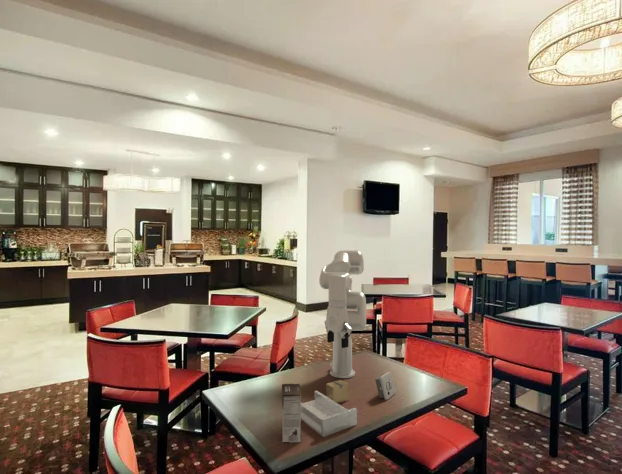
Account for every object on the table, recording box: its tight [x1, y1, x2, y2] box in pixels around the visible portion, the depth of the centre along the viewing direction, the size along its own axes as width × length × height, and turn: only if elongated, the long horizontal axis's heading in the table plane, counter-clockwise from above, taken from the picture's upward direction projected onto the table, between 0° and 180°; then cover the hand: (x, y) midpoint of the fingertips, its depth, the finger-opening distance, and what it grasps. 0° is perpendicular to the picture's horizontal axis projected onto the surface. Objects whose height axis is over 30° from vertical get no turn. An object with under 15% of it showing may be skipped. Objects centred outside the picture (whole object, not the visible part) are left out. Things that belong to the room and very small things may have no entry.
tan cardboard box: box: [325, 379, 350, 404], centre depth 152 cm, size 5×8×7 cm, turn 123°
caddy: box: [301, 390, 358, 438], centre depth 138 cm, size 24×15×6 cm, turn 33°
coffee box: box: [281, 383, 302, 443], centre depth 125 cm, size 9×6×16 cm
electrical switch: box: [374, 371, 397, 401], centre depth 157 cm, size 9×5×9 cm, turn 141°
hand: (337, 344), depth 152 cm, fingers open, 9 cm apart
